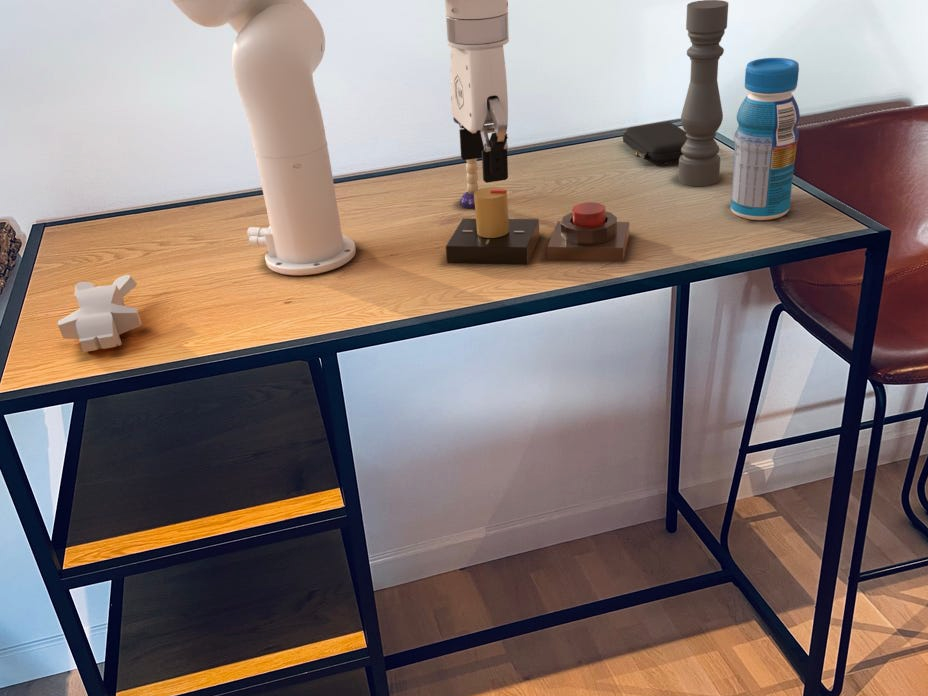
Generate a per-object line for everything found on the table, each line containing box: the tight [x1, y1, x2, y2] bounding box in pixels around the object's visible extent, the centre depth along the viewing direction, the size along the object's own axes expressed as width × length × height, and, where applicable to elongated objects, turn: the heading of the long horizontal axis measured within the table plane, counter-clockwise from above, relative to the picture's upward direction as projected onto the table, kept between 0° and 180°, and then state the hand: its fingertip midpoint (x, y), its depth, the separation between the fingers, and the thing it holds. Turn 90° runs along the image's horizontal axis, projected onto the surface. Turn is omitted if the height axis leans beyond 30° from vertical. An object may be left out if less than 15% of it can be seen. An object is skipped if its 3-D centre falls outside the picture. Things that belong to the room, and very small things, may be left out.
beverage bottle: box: [729, 57, 801, 221], centre depth 135 cm, size 8×8×20 cm
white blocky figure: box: [57, 274, 142, 353], centre depth 124 cm, size 10×5×15 cm
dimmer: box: [445, 217, 541, 266], centre depth 136 cm, size 11×10×3 cm
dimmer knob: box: [474, 186, 510, 238], centre depth 133 cm, size 4×4×6 cm
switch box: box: [546, 210, 630, 263], centre depth 133 cm, size 10×9×4 cm
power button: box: [571, 201, 606, 227], centre depth 132 cm, size 4×4×2 cm
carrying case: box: [622, 121, 688, 166], centre depth 164 cm, size 11×3×15 cm
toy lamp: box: [452, 115, 479, 209], centre depth 146 cm, size 5×5×17 cm
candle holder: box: [677, 0, 729, 187], centre depth 145 cm, size 6×6×25 cm
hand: (483, 169), depth 130 cm, fingers open, 9 cm apart
